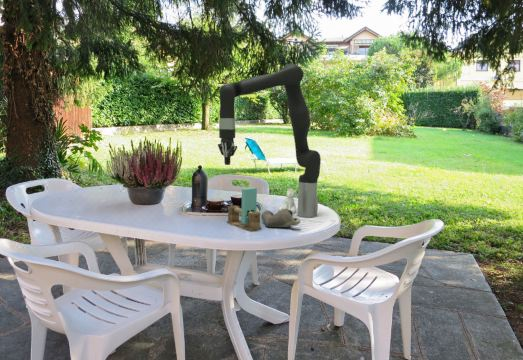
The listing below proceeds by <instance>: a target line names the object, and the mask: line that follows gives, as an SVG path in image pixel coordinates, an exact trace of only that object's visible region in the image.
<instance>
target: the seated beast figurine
mask: <svg viewBox="0 0 523 360" xmlns="http://www.w3.org/2000/svg"><path fill="white" fill-rule="evenodd" d="M297 194H298V191H295V190H294V189H292V188H287V191H286V196H287V197H285V200H284V205H282V206H279V207H278V208H277V212H279V211H281V210H284V209H288V210H290V211H292V212H293V215H294V214H295V213H296V207H297V206H296V204H295V199H294V197H295V195H297Z"/></svg>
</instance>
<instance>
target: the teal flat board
mask: <svg viewBox="0 0 523 360" xmlns="http://www.w3.org/2000/svg"><path fill="white" fill-rule="evenodd" d="M257 192H258V188H257V187H255V186H254V187H246V188H245V187H243V188H241V209H242V210H241V214H240V217H241V219H240V221H241V223H243V224H248V223H249V217H247V211H248V210H249V211H252V212H257V199H258V198H257V196H258V193H257Z"/></svg>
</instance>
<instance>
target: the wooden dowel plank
mask: <svg viewBox="0 0 523 360" xmlns="http://www.w3.org/2000/svg"><path fill="white" fill-rule="evenodd" d="M227 208H228V209H227V210H228V214H227V221H226V224H229V225H232V226H235V227H236V228H237V227H238V228H239V229H242V230H244V231H248V232H251V233H252V232H256V231H260V230H262V227H261V212H259V211H256V212H252V211H251V210H248V211H247V217H249V223H248V224H243V223H241V219H240V215H241V210H242V207H240V206H239V205H235V204H234V205H230V206H228V207H227Z"/></svg>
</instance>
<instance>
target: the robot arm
mask: <svg viewBox="0 0 523 360" xmlns="http://www.w3.org/2000/svg"><path fill="white" fill-rule="evenodd" d="M304 74H305V73H304V70H303V69H302V67H301V66H300V65H298V64H295V63H287V64H285V65H283V67H282V69H281V70H278V71H276V72H274V73H269V74H268V73H267V74H262V75H255V76H252V77H247V78H244V79H240V80H239V81H234V82H231V83H230V82H229V83H224V84H223V85H221V86H220V88H219V91H218V94H219V104H220V105H219V122H218V130H219V131H218V133H219V134H218V137H219V139H220V143H218V144H217V147H218V150H219V152H220V155H221V156H223V157H224V158H223V159H224V161H223V162H224V165H225V166H230V165H231V157H233V156H234V155H235V153H236V151H237V149H238V146H237V145H235V138H236V118H235V117H236V116H235V113H236V112H235V104H236V103H235V101H236V98H238V97H240V96H245V95H246V96H248V95H250V94H254V93H257V92H261V91H264V90H268V89H271V88H276V87H281V86H283V87H284V89H285V93H286V97H287V99H286V100H287V106H288V113H289V119H290V124H291V128H292V134H293V139H294V146H295V148H294V149H295V158H296V162H297V164H298V165H299V166H300V167H301V168H304V173H303V174H301V175H299V176H298V191H297V194H298V195H297V209H296V210H297V214H296V215H297V216H299V217H302V218H314V217H318V208H319V207H318V206H319V205H318V204H319V197H318V196H317V195H318V179H319V177H320V171H321V162H322V161H321V159H322V158H321V154H320V152H319V151H317V150H314V149H310V148H309V142H308V134H309V132H310V131H309V130H310V127H311V117H310V112H309V108H308V105H307V103H306V99H305V98H304V95H303V92H302V88H301V82H302V81H303V78H304Z"/></svg>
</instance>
